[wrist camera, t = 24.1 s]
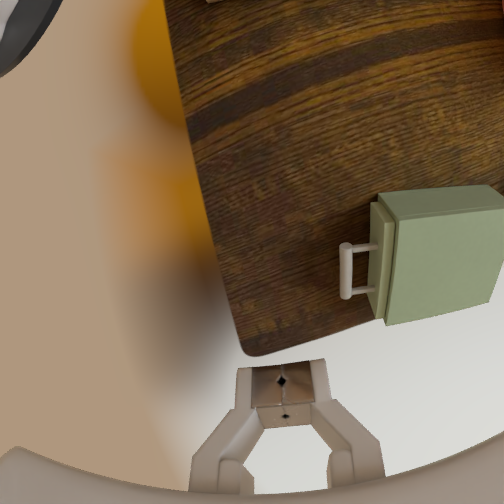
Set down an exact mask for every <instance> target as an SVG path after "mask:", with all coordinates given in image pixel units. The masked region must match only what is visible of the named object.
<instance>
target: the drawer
mask: <svg viewBox="0 0 504 504" xmlns="http://www.w3.org/2000/svg"><path fill="white" fill-rule="evenodd" d="M395 233H396V223H395V221H394V219H393V218H392V217H391V215H390V214H389V213H388V211H387V210H386V209H385V207H384V206H383V205H382V203H381V202H380V201H379V202H371V203H370V243H367V244H359V245H352V244H350V243H342V244H340V246H339V253H340V297H341V298H342V299H349V298H350V297H351V294H352V295H354V294H361V293H367V296H368V299H369V302H370V304H371V307H372V310H373V313H374V316H375V319H380V318H384V317H385V311H386V304H387V298H388V296H389V289H390V282H391V274H392V265H393V256H394V245H395ZM352 251H353V253H355V252H362V251H369V269H368V284H367V286H362V287H356V288H352Z"/></svg>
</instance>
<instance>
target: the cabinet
mask: <svg viewBox="0 0 504 504" xmlns="http://www.w3.org/2000/svg"><path fill="white" fill-rule="evenodd" d="M379 201H380V202H381V203H382V205H383V206H384V207H385V209H386V210H387V211H388V213H389V214H390V215H391V217H392V218H393V219H394V221H395V223H396V233H395V245H394V256H393V265H392V274H391V282H390V289H389V296H388V298H387V304H386V311H385V317H384V318H383V319H384V322H385V325H386V326H390V325H395V324H400V323H405V322H410V321H414V320H420V319H424V318H429V317H433V316H437V315H442V314H446V313H450V312H454V311H458V310H462V309H466V308H470V307H473V306H477V305H480V304H484V303H487V302H489V299H490V297H491V294H492V292H493V289H494V287H495V284H496V281H497V278H498V275H499V272H500V269H501V266H502V263H503V260H504V197H503V196H502V195H501V194H499V193H498V192H497V191H495V190H494V189H493V188H491V187H490V186H489V185H470V186H455V187H441V188H428V189H416V190H405V191H394V192H384V193H378V202H379Z"/></svg>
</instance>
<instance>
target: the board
mask: <svg viewBox="0 0 504 504" xmlns="http://www.w3.org/2000/svg"><path fill="white" fill-rule="evenodd" d="M206 1H207V2H208V3H213V2H217V1H222V0H206Z"/></svg>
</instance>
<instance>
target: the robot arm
mask: <svg viewBox="0 0 504 504" xmlns="http://www.w3.org/2000/svg"><path fill="white" fill-rule="evenodd" d="M17 3H18V0H0V42H1V39H2V36H3V33H4V30H5V26H6V23H7V21H8V19H9V17H10V15H11V13H12V12H13V10H14V8H15V6H16V4H17ZM309 424H311V425H312V426H313V428H314V429H315V430H316V431H317V433H318V434H319V435H320V436H321V437H322V439H323V440H324V441H325V442H326V444H327V445H328V446H329V447H330V448H331V449H332V453H331V454H330V455H329V460H328V467H327V483H328V489H323V490H314V491H305V492H295V493H281V494H257V495H256V494H254V477H253V476H252V475H251V474H250V473H249V472H248V471H247V469H246V468H245V467H244V466H243V463H244V462H245V460H246V459H247V457H248V456H249V454H250V452H251V451H252V449H253V448H254V446H255V445H256V443H257V441H258V440H259V438H260V436H261V435H262V433H263V432H264V429H267V428H278V427H287V426H298V425H309ZM0 504H504V431H503V432H501V433H499V434H497V435H495V436H493V437H491V438H489V439H488V440H485V441H484V442H481V443H479V444H477V445H475V446H473V447H470V448H468V449H466V450H464V451H461V452H459V453H457V454H454V455H452V456H449V457H447V458H444V459H441V460H439V461H436V462H433V463H430V464H428V465H425V466H422V467H419V468H416V469H412V470H409V471H406V472H403V473H399V474H395V475H392V476H388V477H386V476H385V470H384V464H383V459H382V453H381V448H380V443H379V441H378V440H377V439H376V438H375V437H374V436H373V435H372V434H371V433H370V432H369V431H368V430H367V429H366V428H365V427H364V426H363V425H362V424H361V423H360V422H359V421H358V420H357V419H356V418H355V417H354V416H353V415H352V414H351V413H349V412H348V411H347V410H346V409H345V408H344V407H343V406H342V405H341V404H340V403H339V402H338V401H337V400H336V399H333V400H332V398H331V392H330V385H329V379H328V373H327V368H326V362H325V359H324V358H323V359H318V360H311V361H309V360H308V361H301V362H295V363H288V364H281V365H273V366H262V367H247V368H238V370H237V378H236V393H235V409H232V410H230V411H229V412H228V413H227V415H226V416H225V417H224V419H223V420H222V421H221V422H220V424H219V425H218V426H217V427H216V429H215V430H214V431H213V432H212V434H211V435H210V436H209V437H208V438H207V440H206V441H205V442H204V443H203V445H202V446H201V447H200V448H199V449H198V451H197V452H196V453H195V454H194V455H193V457H192V464H191V472H190V481H189V490H188V492H186V491H179V490H171V489H164V488H157V487H151V486H146V485H140V484H135V483H130V482H126V481H121V480H117V479H113V478H109V477H105V476H101V475H97V474H94V473H90V472H87V471H84V470H81V469H77V468H74V467H71V466H68V465H65V464H63V463H60V462H57V461H54V460H52V459H49V458H47V457H44V456H42V455H39V454H37V453H34V452H32V451H30V450H27V449H25V448H23V447H20V446H16V447H14V448H12V449H10V450H9V451H8V452H7V453H5V454H4V455H3V456H2V457H1V458H0Z"/></svg>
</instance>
